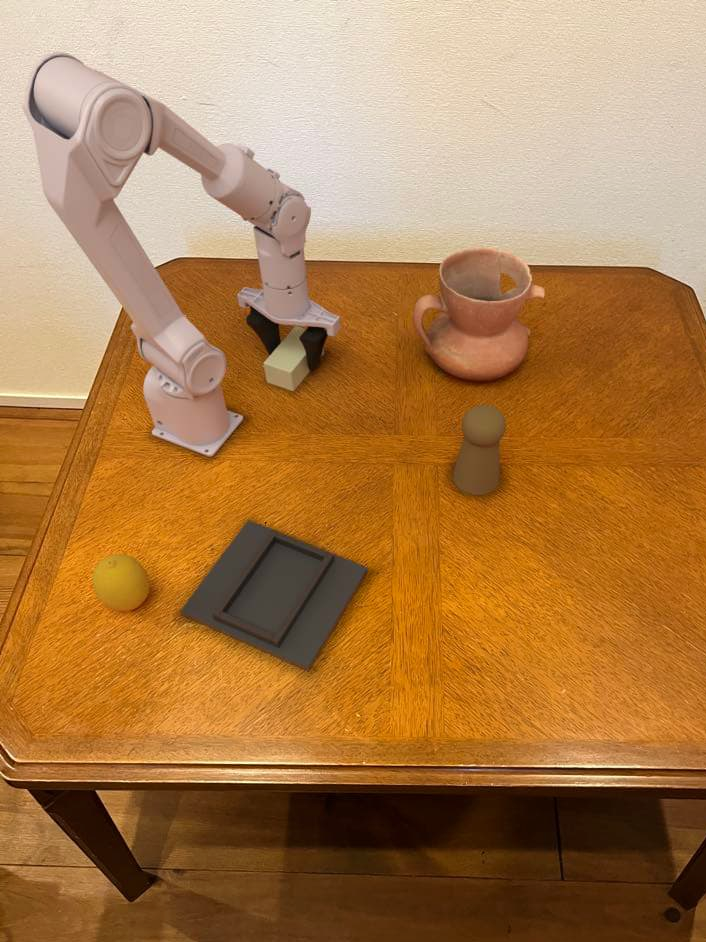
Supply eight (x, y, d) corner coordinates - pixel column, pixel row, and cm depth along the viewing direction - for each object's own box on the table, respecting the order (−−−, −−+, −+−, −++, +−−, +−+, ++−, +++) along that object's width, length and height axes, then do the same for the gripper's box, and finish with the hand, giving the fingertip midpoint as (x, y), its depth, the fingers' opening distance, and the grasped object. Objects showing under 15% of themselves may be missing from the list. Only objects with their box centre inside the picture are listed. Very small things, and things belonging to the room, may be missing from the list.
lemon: (110, 583, 84) (87, 542, 77) (159, 580, 84) (140, 539, 78) (102, 625, 81) (77, 586, 74) (154, 622, 81) (134, 583, 75)
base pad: (182, 615, 82) (177, 605, 80) (249, 524, 89) (246, 513, 87) (308, 672, 78) (306, 662, 76) (367, 572, 85) (367, 561, 84)
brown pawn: (496, 499, 92) (508, 437, 83) (449, 490, 93) (455, 429, 84) (502, 463, 96) (514, 401, 87) (456, 456, 96) (463, 393, 87)
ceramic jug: (520, 322, 113) (535, 237, 101) (543, 387, 104) (563, 302, 93) (404, 331, 111) (405, 245, 99) (418, 397, 103) (421, 312, 91)
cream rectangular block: (266, 382, 104) (262, 363, 101) (298, 344, 109) (295, 325, 106) (293, 391, 103) (290, 372, 100) (324, 353, 108) (322, 334, 105)
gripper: (349, 274, 94) (353, 358, 105) (251, 245, 97) (265, 329, 108) (322, 305, 90) (329, 388, 101) (222, 273, 94) (239, 357, 105)
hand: (294, 360), depth 105 cm, fingers open, 6 cm apart
